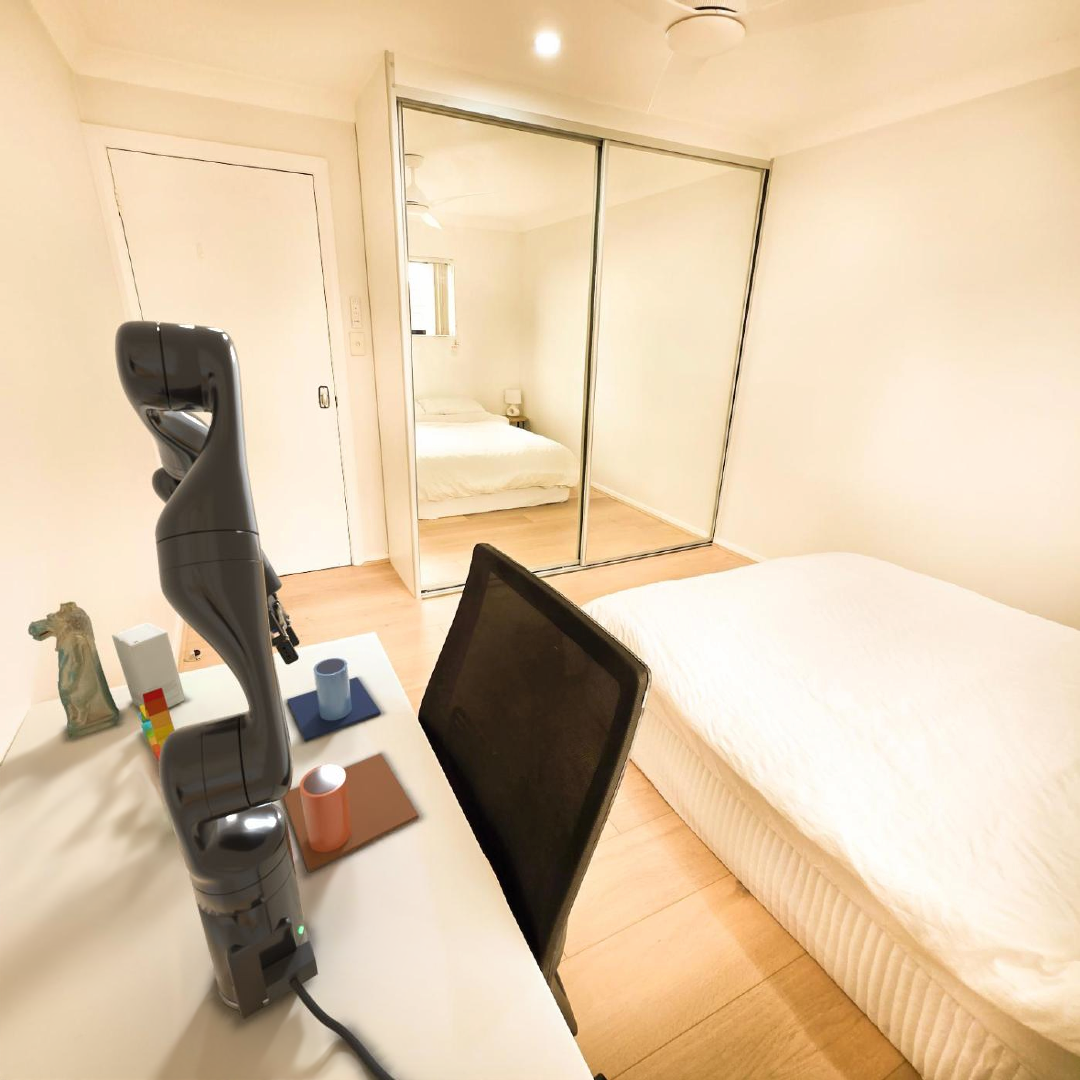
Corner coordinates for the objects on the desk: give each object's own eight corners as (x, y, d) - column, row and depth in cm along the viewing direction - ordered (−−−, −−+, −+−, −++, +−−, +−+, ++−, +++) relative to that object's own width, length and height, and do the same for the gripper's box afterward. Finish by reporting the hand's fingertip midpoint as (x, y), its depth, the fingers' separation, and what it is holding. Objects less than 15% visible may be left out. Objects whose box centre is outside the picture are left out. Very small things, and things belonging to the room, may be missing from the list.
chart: (218, 821, 79) (200, 739, 74) (194, 834, 77) (173, 751, 72) (164, 725, 99) (146, 655, 94) (143, 733, 97) (124, 662, 92)
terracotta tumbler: (357, 838, 76) (351, 784, 73) (314, 860, 73) (305, 804, 70) (344, 811, 81) (338, 758, 78) (303, 829, 78) (294, 775, 74)
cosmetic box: (186, 700, 106) (170, 632, 100) (149, 718, 100) (130, 646, 95) (165, 686, 110) (149, 619, 105) (128, 702, 105) (109, 633, 99)
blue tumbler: (358, 708, 104) (354, 664, 101) (332, 724, 99) (326, 679, 96) (339, 697, 107) (334, 654, 104) (312, 712, 102) (306, 668, 99)
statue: (60, 727, 97) (20, 605, 89) (117, 707, 103) (84, 591, 95) (65, 746, 93) (23, 619, 85) (124, 724, 99) (90, 603, 90)
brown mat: (418, 817, 81) (418, 814, 81) (308, 872, 72) (308, 869, 72) (381, 755, 93) (380, 752, 93) (282, 796, 84) (282, 793, 84)
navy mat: (380, 713, 104) (380, 711, 103) (305, 741, 96) (304, 739, 96) (357, 679, 114) (357, 676, 114) (287, 701, 106) (287, 699, 106)
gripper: (266, 569, 83) (315, 656, 87) (272, 556, 96) (314, 631, 100) (216, 592, 80) (269, 679, 85) (229, 574, 93) (274, 651, 98)
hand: (293, 653), depth 92 cm, fingers open, 8 cm apart
